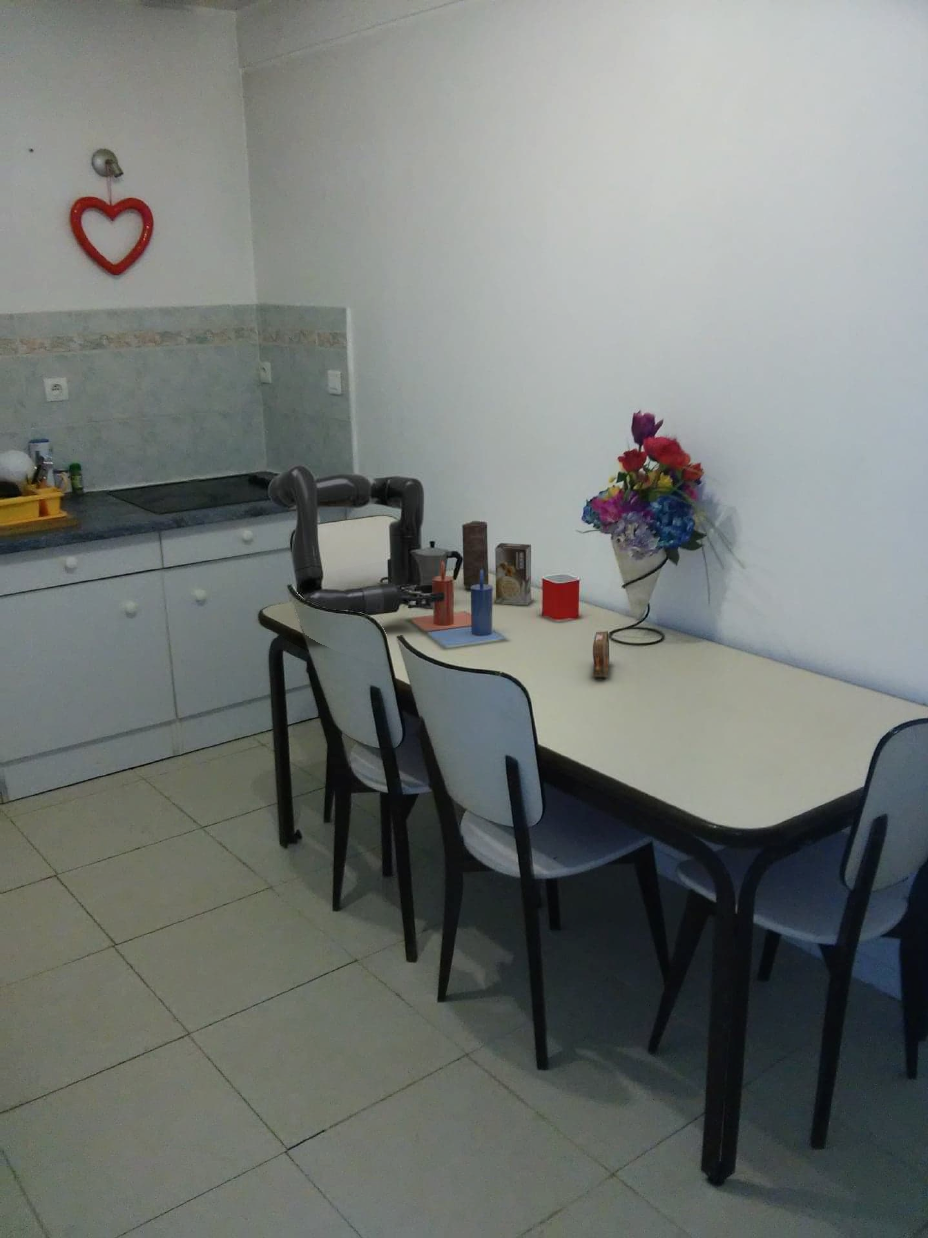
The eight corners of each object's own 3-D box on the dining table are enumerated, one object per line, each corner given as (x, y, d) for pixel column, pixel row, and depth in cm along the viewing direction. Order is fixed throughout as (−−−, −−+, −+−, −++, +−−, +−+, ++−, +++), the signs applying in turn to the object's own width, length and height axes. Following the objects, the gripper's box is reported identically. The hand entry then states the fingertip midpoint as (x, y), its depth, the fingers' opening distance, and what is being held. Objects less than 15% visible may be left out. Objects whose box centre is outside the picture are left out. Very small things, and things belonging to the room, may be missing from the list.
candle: (470, 593, 307) (469, 525, 301) (458, 587, 313) (457, 520, 307) (493, 590, 310) (493, 522, 305) (480, 584, 317) (480, 518, 311)
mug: (582, 617, 283) (583, 579, 280) (557, 622, 279) (557, 583, 276) (555, 607, 293) (555, 569, 290) (530, 612, 288) (530, 573, 285)
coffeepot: (404, 606, 295) (403, 542, 289) (417, 597, 303) (416, 535, 298) (457, 611, 290) (456, 546, 284) (468, 602, 298) (468, 539, 293)
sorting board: (445, 649, 259) (445, 646, 259) (409, 620, 282) (408, 617, 282) (505, 640, 265) (505, 637, 265) (464, 613, 288) (464, 610, 288)
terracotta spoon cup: (430, 624, 276) (428, 562, 272) (438, 618, 281) (437, 558, 276) (449, 626, 274) (448, 564, 270) (457, 621, 279) (456, 559, 274)
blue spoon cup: (467, 634, 268) (467, 571, 263) (475, 628, 273) (475, 566, 268) (487, 637, 266) (487, 573, 261) (495, 630, 271) (495, 568, 266)
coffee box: (532, 599, 300) (532, 544, 295) (526, 606, 294) (527, 549, 289) (500, 597, 302) (500, 542, 298) (494, 603, 297) (494, 547, 292)
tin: (605, 683, 235) (606, 646, 233) (590, 682, 236) (591, 646, 234) (609, 661, 250) (611, 626, 247) (596, 660, 250) (597, 625, 248)
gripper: (386, 592, 262) (448, 584, 267) (368, 578, 274) (427, 572, 280) (387, 621, 264) (448, 613, 270) (369, 606, 276) (428, 599, 282)
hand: (437, 592), depth 275 cm, fingers open, 8 cm apart
